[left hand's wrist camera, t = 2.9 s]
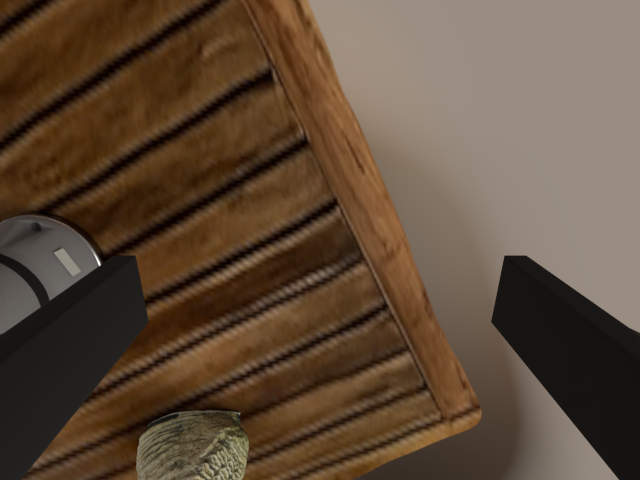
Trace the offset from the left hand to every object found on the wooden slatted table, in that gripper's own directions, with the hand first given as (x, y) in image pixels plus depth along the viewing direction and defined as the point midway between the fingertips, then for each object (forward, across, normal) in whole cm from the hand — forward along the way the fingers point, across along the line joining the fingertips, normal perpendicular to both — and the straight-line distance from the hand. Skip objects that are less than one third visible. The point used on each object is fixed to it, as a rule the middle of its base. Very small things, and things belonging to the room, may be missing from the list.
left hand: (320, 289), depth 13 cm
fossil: (+32, +20, +43) cm, 57 cm away
